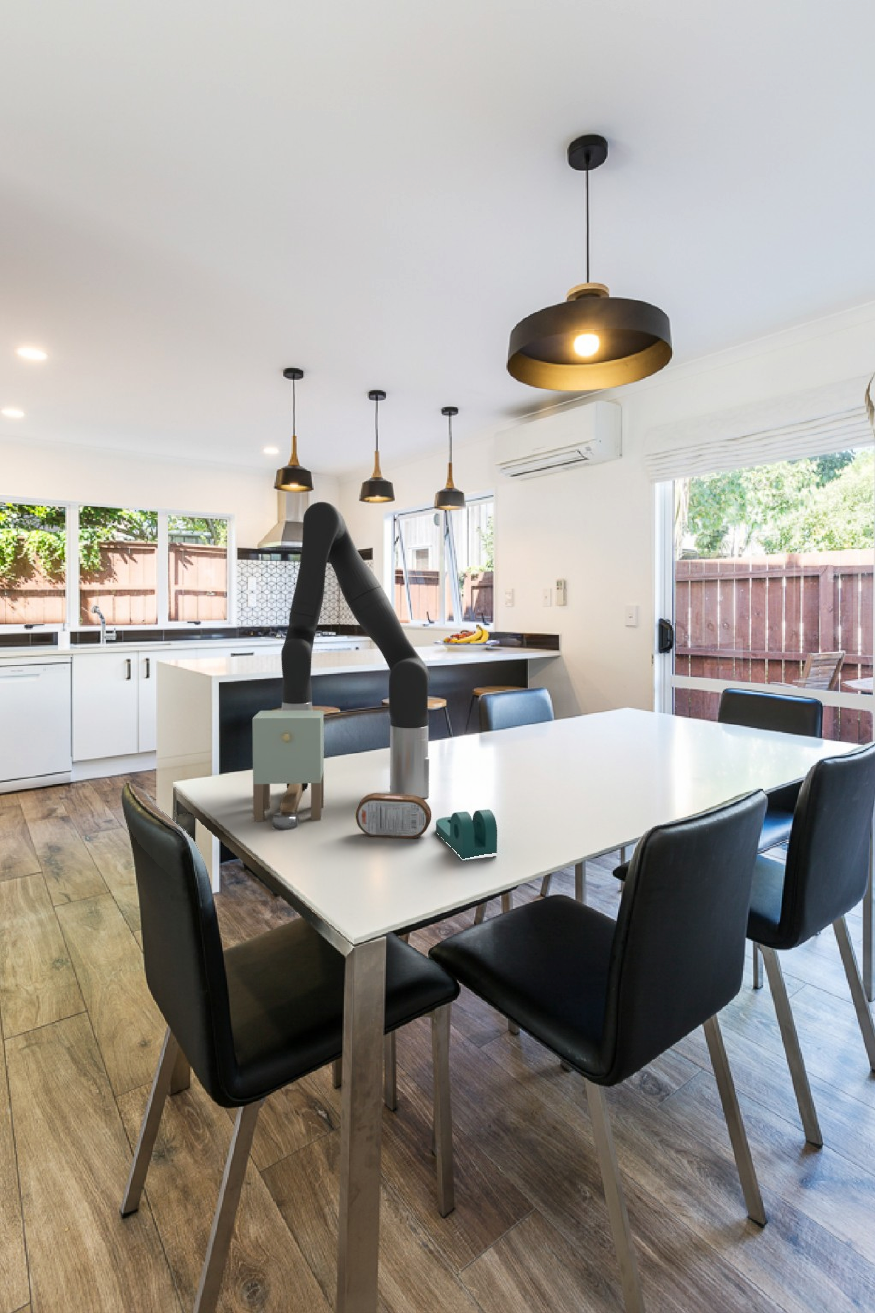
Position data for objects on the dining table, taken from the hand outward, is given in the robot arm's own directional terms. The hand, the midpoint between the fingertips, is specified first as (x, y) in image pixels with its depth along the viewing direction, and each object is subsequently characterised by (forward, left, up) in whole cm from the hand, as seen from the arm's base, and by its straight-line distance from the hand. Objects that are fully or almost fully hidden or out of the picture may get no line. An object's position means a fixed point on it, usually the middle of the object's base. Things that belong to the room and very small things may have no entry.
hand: (297, 790), depth 155 cm
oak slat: (0, +9, -1) cm, 9 cm away
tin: (-22, +31, -1) cm, 38 cm away
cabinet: (0, +15, -1) cm, 15 cm away
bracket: (-35, +35, -1) cm, 50 cm away
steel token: (0, +23, -1) cm, 23 cm away
